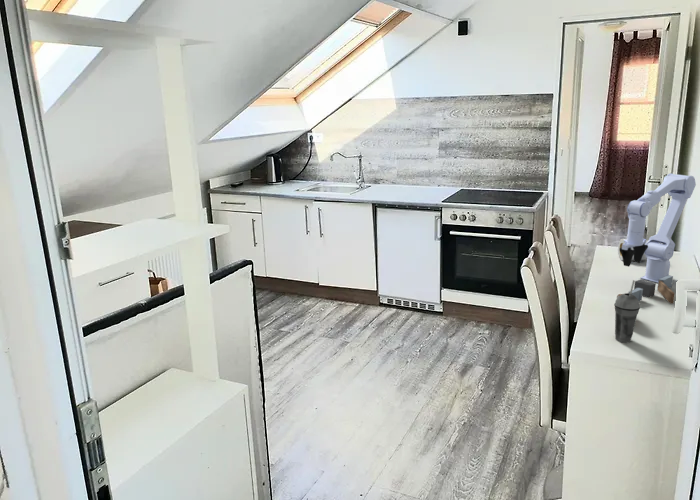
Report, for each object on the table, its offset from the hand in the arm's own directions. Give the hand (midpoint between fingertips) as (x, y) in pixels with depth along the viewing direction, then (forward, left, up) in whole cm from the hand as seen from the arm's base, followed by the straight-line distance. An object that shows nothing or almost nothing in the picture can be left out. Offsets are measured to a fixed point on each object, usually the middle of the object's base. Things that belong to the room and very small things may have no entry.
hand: (631, 264), depth 221 cm
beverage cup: (+49, +25, -10) cm, 56 cm away
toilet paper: (-35, -18, -10) cm, 41 cm away
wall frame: (+4, +10, -9) cm, 14 cm away
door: (+2, +15, -9) cm, 17 cm away
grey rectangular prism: (+5, +8, -10) cm, 13 cm away
